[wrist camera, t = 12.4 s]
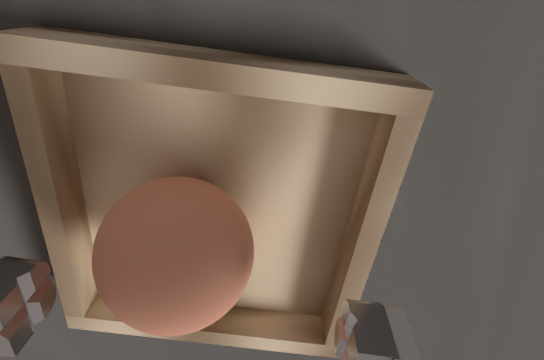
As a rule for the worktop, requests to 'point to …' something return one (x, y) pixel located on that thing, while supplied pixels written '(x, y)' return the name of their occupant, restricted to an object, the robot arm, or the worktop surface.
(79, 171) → the birch tray
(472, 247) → the worktop surface
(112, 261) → the coral ball
